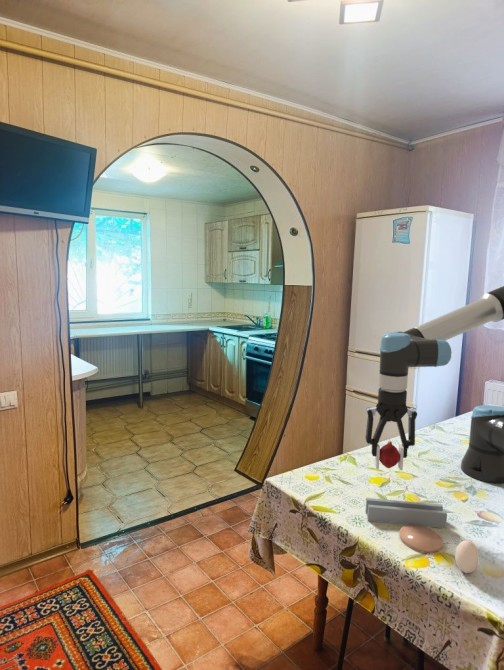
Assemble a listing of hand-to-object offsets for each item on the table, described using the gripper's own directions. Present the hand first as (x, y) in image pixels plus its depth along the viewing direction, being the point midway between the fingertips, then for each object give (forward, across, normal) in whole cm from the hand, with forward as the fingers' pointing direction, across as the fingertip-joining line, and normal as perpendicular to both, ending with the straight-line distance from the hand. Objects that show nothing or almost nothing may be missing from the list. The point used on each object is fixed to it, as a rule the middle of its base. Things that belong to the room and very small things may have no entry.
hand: (388, 467), depth 123 cm
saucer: (+11, -5, +17) cm, 21 cm away
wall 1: (+11, -3, +6) cm, 13 cm away
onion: (+1, 0, 0) cm, 1 cm away
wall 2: (+11, -3, +10) cm, 15 cm away
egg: (+11, -12, +27) cm, 32 cm away
